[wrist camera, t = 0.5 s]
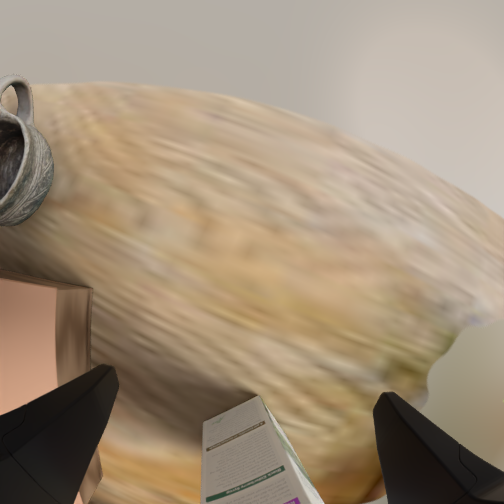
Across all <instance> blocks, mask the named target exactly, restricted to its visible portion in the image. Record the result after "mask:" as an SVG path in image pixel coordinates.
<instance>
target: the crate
mask: <svg viewBox="0 0 504 504" xmlns="http://www.w3.org/2000/svg"><path fill="white" fill-rule="evenodd" d="M0 278H4V279H9V280H15V281H21V282H26V283H32V284H38V285H45V286H51V287H57V298H56V365H57V380H58V387H60V386H61V385H63V384H65V383H67V382H69V381H71V380H73V379H75V378H77V377H79V376H80V375H82V374H84V373H86V372H88V371H90V370H91V360H90V336H91V309H92V294H93V288H87V287H82V286H77V285H71V284H66V283H61V282H56V281H51V280H47V279H42V278H37V277H33V276H28V275H24V274H20V273H15V272H11V271H7V270H3V269H0ZM102 477H103V473H102V468H101V463H100V457H99V451H98V446H97V448H96V450H95V453H94V455H93V457H92V460H91V462H90V464H89V467H88V469H87V472H86V474H85V477H84V479H83V482H82V484H81V487H80V489H79V492H80V495H81V498H82V501H83V504H88V502H89V500H90V499H91V497H92V495H93V493H94V491H95V489H96V488H97V486H98V484H99V482H100V480H101V479H102Z"/></svg>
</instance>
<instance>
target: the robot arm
mask: <svg viewBox="0 0 504 504" xmlns="http://www.w3.org/2000/svg"><path fill="white" fill-rule="evenodd" d="M118 389H119V382H118V378H117V374H116V370H115V368H114V366H111V365H108V364H101V365H99V366H97V367H95V368H94V369H92V370H90V371H88V372H86V373H84V374H82V375H80V376H79V377H77V378H75V379H73V380H71V381H69V382H67V383H65V384H63V385H61V386H60V387H58V388H56V389H54V390H52V391H50V392H48V393H46V394H44V395H42V396H40V397H38V398H36V399H34V400H32V401H30V402H28V403H27V404H24V405H22V406H20V407H18V408H16V409H14V410H12V411H9V412H7V413H5V414H2V415H0V504H74V502H75V499H76V497H77V494H78V492H79V489H80V487H81V484H82V482H83V479H84V477H85V474H86V472H87V469H88V467H89V464H90V462H91V460H92V457H93V455H94V453H95V450H96V448H97V446H98V444H99V441H100V439H101V437H102V434H103V432H104V430H105V428H106V425H107V423H108V420H109V417H110V414H111V410H112V407H113V404H114V401H115V398H116V395H117V392H118ZM373 418H374V426H375V434H376V444H377V450H378V455H379V460H380V464H381V469H382V474H383V479H384V484H385V489H386V494H387V499H388V504H504V472H503V471H501V470H500V469H498V468H496V467H494V466H493V465H491V464H489V463H488V462H486V461H484V460H483V459H481V458H479V457H478V456H476V455H475V454H473V453H472V452H471V451H469V450H468V449H466V448H465V447H464V446H462V445H461V444H459V443H458V442H457V441H456V440H455V439H453V438H452V437H451V436H449V435H448V434H447V433H445V432H444V431H443V430H442V429H440V428H439V427H437V426H436V425H435V424H434V423H432V422H431V421H430V420H429V419H427V418H426V417H425V416H424V415H422V414H421V413H420V412H419V411H417V410H416V409H415V408H413V407H412V406H411V405H410V404H408V403H407V402H406V401H405V400H403V399H402V398H401V397H400V396H398V395H397V394H396V393H394V392H383V393H382V394H381V395H380V397H379V399H378V401H377V403H376V405H375V407H374V409H373Z"/></svg>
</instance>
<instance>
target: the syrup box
mask: <svg viewBox="0 0 504 504" xmlns="http://www.w3.org/2000/svg"><path fill="white" fill-rule="evenodd" d="M201 504H324V502H323V500H322V499H321V497H320V495H319V494H318V492H317V490H316V489H315V487H314V485H313V483H312V482H311V480H310V478H309V476H308V474H307V473H306V471H305V469H304V467H303V465H302V463H301V462H300V460H299V458H298V456H297V454H296V452H295V450H294V449H293V447H292V445H291V443H290V441H289V439H288V437H287V436H286V434H285V433H284V431H283V430H282V428H281V427H280V426H279V424H278V423H277V421H276V420H275V418H274V417H273V415H272V414H271V412H270V411H269V409H268V408H267V406H266V405H265V403H264V402H263V400H262V398H261V397H260V396H256V397H254V398H252V399H250V400H248V401H246V402H244V403H242V404H240V405H238V406H236V407H234V408H232V409H230V410H228V411H226V412H223V413H221V414H219V415H217V416H215V417H213V418H211V419H209V420H206V421H204V422H203V437H202V465H201Z"/></svg>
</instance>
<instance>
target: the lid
mask: <svg viewBox="0 0 504 504" xmlns="http://www.w3.org/2000/svg"><path fill="white" fill-rule="evenodd" d="M56 298H57V287H51V286H45V285H38V284H32V283H26V282H21V281H15V280H9V279H4V278H0V415H2V414H5V413H7V412H9V411H12V410H14V409H16V408H18V407H20V406H22V405H24V404H27V403H28V402H30V401H32V400H34V399H36V398H38V397H40V396H42V395H44V394H46V393H48V392H50V391H52V390H54V389H56V388H58V380H57V365H56ZM74 504H83V501H82V498H81V495H80V492H78V494H77V497H76V499H75V502H74Z"/></svg>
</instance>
